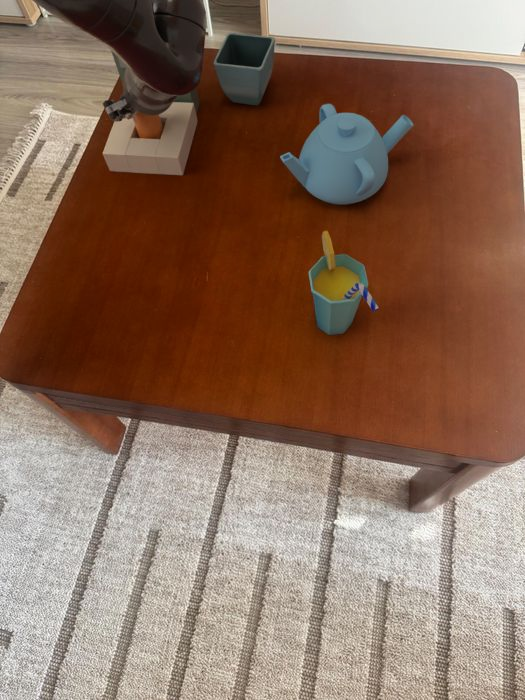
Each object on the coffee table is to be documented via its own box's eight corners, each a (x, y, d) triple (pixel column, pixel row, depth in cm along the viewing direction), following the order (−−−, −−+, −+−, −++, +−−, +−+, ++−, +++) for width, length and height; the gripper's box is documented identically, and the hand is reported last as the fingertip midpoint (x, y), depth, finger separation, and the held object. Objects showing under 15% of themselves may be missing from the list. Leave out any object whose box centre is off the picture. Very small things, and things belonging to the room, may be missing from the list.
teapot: (383, 225, 83) (394, 171, 73) (280, 200, 86) (277, 146, 76) (407, 156, 89) (420, 98, 79) (309, 136, 93) (310, 78, 82)
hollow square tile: (109, 171, 92) (102, 153, 88) (128, 118, 98) (122, 99, 94) (183, 175, 90) (178, 157, 87) (197, 121, 96) (193, 102, 92)
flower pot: (233, 77, 101) (227, 31, 93) (278, 82, 99) (275, 36, 91) (219, 108, 97) (212, 63, 89) (265, 114, 96) (262, 69, 88)
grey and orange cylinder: (143, 150, 91) (127, 105, 83) (136, 133, 93) (119, 87, 85) (169, 141, 91) (156, 96, 83) (161, 124, 94) (148, 78, 86)
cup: (387, 349, 73) (406, 291, 60) (339, 374, 72) (348, 321, 59) (334, 277, 79) (341, 209, 66) (289, 299, 78) (287, 234, 64)
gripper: (185, 31, 73) (166, 66, 89) (91, 73, 70) (89, 102, 86) (209, 86, 75) (187, 111, 91) (120, 128, 73) (113, 146, 89)
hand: (139, 106), depth 89 cm, fingers closed on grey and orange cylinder, 4 cm apart
